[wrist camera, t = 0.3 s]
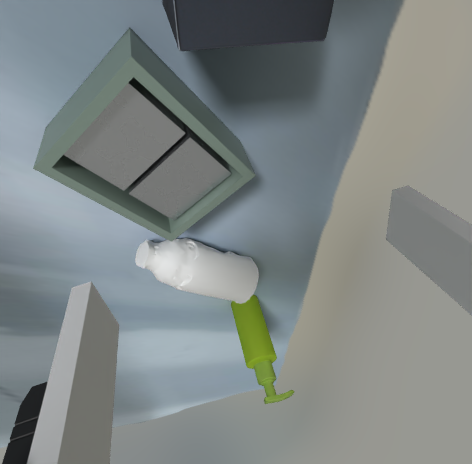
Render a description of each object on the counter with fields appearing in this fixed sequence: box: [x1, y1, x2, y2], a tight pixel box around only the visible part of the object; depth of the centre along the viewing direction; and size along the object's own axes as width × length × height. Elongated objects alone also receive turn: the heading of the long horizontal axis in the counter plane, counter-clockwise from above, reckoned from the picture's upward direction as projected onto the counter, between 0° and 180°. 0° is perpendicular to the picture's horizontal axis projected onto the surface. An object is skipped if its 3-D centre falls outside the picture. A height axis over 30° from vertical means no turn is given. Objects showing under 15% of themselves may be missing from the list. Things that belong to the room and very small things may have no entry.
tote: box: [33, 28, 256, 242], centre depth 33 cm, size 13×16×7 cm
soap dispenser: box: [231, 295, 294, 404], centre depth 61 cm, size 6×7×20 cm
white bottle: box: [135, 238, 259, 304], centre depth 48 cm, size 8×19×8 cm, turn 51°
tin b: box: [129, 122, 231, 220], centre depth 35 cm, size 9×6×5 cm
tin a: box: [63, 77, 185, 191], centre depth 30 cm, size 9×6×5 cm
